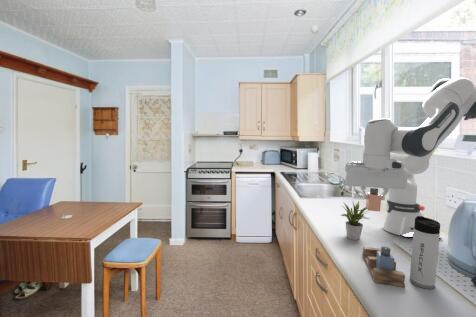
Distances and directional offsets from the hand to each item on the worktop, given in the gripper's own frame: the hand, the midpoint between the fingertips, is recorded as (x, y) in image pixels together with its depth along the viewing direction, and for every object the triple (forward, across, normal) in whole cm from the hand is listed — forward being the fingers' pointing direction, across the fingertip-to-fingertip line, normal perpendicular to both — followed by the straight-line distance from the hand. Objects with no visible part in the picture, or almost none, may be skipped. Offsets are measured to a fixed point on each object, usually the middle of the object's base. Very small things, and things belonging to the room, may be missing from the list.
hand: (373, 199), depth 96 cm
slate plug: (+20, +1, -16) cm, 26 cm away
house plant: (+21, -3, +13) cm, 25 cm away
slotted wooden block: (+21, +1, -12) cm, 24 cm away
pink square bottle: (+4, 0, 0) cm, 4 cm away
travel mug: (+21, +11, -17) cm, 29 cm away
